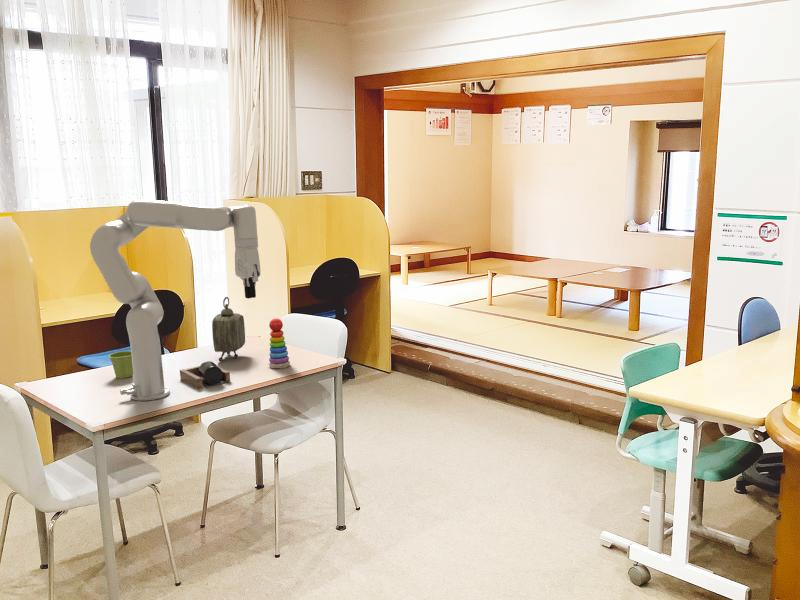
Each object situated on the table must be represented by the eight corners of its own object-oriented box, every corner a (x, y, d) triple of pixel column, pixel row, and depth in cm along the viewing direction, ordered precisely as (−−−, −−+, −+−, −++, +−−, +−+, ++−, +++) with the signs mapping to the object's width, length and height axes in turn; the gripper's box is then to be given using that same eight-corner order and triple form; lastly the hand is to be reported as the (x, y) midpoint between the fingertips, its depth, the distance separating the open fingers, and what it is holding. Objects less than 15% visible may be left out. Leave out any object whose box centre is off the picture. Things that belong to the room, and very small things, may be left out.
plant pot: (107, 380, 264) (105, 358, 262) (115, 373, 273) (112, 351, 271) (133, 379, 265) (131, 356, 263) (140, 372, 274) (138, 350, 272)
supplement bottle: (209, 363, 251) (201, 356, 262) (200, 381, 251) (192, 373, 261) (226, 370, 255) (217, 362, 265) (218, 388, 254) (209, 379, 264)
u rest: (198, 389, 250) (197, 379, 250) (180, 379, 262) (179, 370, 262) (230, 381, 258) (229, 372, 257) (211, 372, 270) (211, 363, 269)
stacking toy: (291, 363, 280) (288, 316, 276) (288, 368, 272) (285, 320, 268) (270, 363, 280) (267, 316, 276) (267, 369, 272) (264, 321, 268)
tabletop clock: (225, 353, 297) (221, 294, 293) (247, 353, 297) (242, 293, 292) (214, 363, 283) (209, 300, 279) (237, 362, 283) (232, 300, 278)
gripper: (226, 243, 242) (230, 296, 246) (246, 246, 231) (250, 302, 234) (246, 240, 247) (250, 293, 250) (267, 243, 235) (271, 298, 239)
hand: (250, 297), depth 242 cm, fingers closed
